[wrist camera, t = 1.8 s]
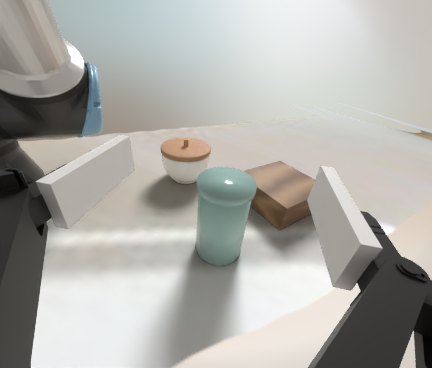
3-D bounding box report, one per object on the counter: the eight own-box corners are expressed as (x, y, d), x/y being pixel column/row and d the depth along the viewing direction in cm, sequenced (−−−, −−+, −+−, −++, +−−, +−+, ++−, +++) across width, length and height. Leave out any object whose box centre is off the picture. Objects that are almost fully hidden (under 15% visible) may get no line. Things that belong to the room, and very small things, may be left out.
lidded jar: (207, 191, 46) (210, 151, 40) (157, 188, 45) (154, 147, 40) (209, 167, 55) (211, 132, 49) (167, 164, 54) (165, 129, 49)
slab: (234, 192, 46) (237, 172, 43) (275, 178, 53) (280, 160, 50) (279, 230, 37) (287, 208, 35) (321, 208, 44) (330, 188, 41)
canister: (185, 239, 34) (186, 174, 27) (223, 223, 38) (232, 162, 31) (211, 276, 29) (219, 207, 22) (252, 253, 33) (269, 188, 26)
